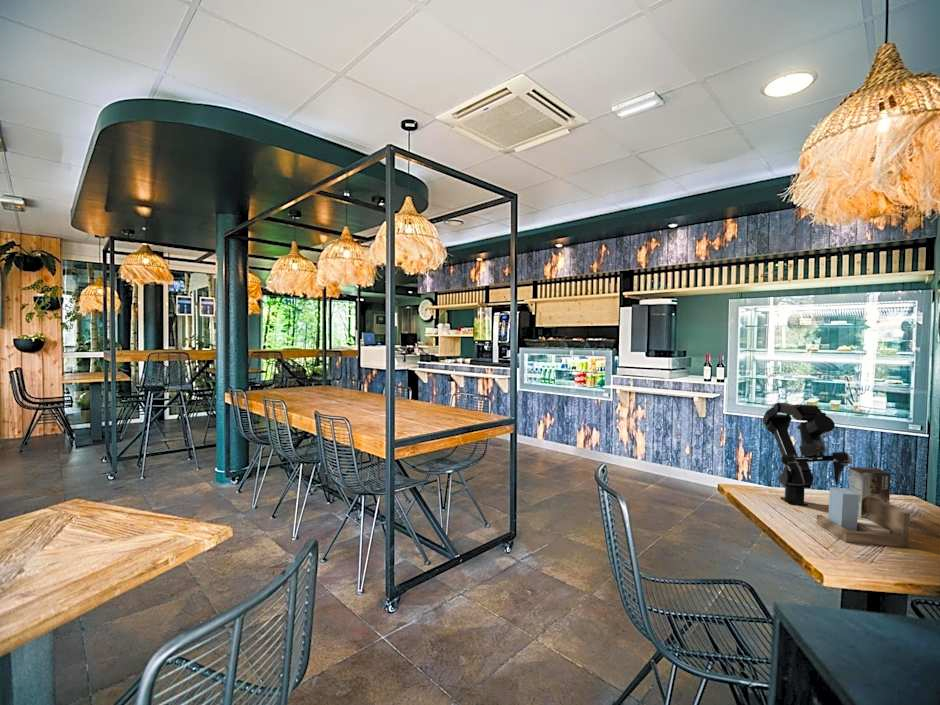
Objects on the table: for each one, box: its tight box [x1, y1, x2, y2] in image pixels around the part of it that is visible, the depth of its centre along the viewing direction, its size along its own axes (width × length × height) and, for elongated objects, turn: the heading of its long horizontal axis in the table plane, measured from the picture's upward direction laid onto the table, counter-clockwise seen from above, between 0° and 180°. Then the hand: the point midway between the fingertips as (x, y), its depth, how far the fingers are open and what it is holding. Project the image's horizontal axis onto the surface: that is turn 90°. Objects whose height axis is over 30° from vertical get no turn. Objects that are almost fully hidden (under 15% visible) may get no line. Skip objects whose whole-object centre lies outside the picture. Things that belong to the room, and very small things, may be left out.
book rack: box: [815, 497, 911, 548], centre depth 140 cm, size 14×17×10 cm
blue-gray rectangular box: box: [827, 487, 859, 531], centre depth 142 cm, size 6×4×12 cm
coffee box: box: [848, 466, 891, 519], centre depth 157 cm, size 9×6×16 cm
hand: (819, 484), depth 151 cm, fingers open, 9 cm apart
